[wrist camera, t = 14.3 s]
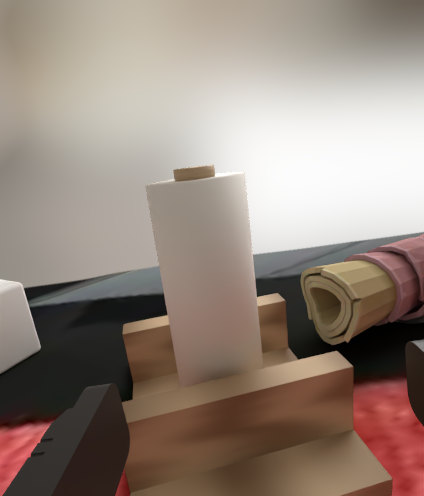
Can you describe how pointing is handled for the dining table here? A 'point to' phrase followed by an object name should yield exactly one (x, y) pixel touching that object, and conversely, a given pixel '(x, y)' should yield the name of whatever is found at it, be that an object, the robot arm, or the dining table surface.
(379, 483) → the stand
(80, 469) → the robot arm
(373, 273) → the scroll
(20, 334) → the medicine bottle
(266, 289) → the dining table surface
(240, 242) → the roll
